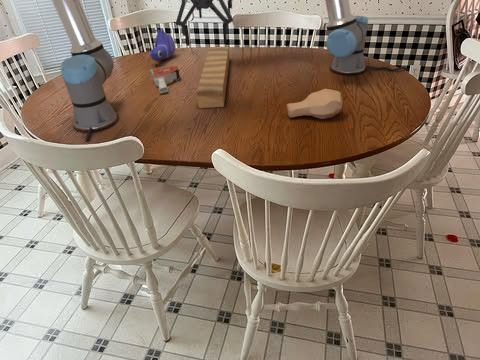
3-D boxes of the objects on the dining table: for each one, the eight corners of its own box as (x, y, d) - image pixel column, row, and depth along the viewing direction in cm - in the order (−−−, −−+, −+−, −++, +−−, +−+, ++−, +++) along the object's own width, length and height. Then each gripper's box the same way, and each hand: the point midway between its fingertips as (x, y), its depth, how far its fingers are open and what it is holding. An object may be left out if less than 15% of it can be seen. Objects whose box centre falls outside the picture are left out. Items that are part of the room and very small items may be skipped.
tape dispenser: (164, 98, 152) (192, 79, 164) (161, 86, 148) (191, 68, 161) (134, 89, 159) (163, 72, 172) (131, 78, 156) (161, 61, 168)
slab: (223, 106, 139) (222, 90, 135) (198, 108, 139) (196, 91, 135) (229, 59, 185) (228, 46, 181) (210, 60, 186) (209, 47, 182)
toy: (163, 61, 202) (144, 66, 180) (159, 29, 195) (138, 31, 173) (180, 60, 200) (162, 66, 177) (176, 28, 193) (156, 29, 171)
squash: (346, 119, 125) (347, 98, 118) (290, 129, 126) (288, 109, 120) (339, 102, 132) (339, 81, 126) (285, 111, 134) (283, 91, 128)
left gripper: (237, -26, 121) (240, 39, 133) (164, -22, 122) (174, 42, 134) (237, -23, 115) (240, 45, 127) (160, -19, 116) (171, 48, 128)
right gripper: (239, -39, 157) (241, 13, 170) (183, -35, 158) (189, 16, 171) (238, -37, 151) (241, 17, 164) (180, -34, 152) (187, 19, 165)
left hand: (206, 44), depth 131 cm, fingers open, 13 cm apart
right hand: (215, 16), depth 167 cm, fingers open, 13 cm apart
